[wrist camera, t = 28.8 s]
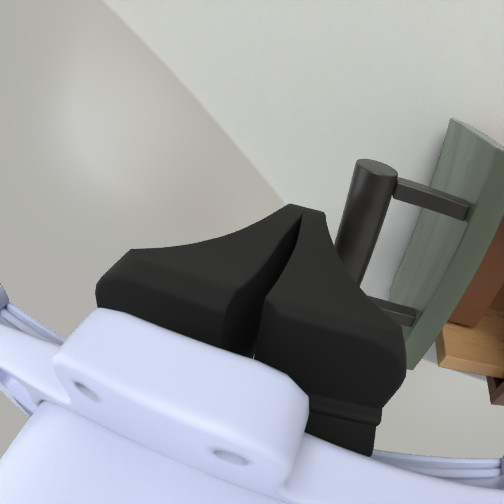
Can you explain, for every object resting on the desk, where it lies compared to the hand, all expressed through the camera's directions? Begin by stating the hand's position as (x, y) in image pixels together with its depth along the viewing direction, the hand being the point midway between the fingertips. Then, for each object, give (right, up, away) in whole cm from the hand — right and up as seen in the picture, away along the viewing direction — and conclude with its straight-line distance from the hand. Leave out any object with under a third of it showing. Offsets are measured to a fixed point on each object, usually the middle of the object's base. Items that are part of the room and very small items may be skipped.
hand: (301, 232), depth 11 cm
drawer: (+10, 0, +2) cm, 10 cm away
